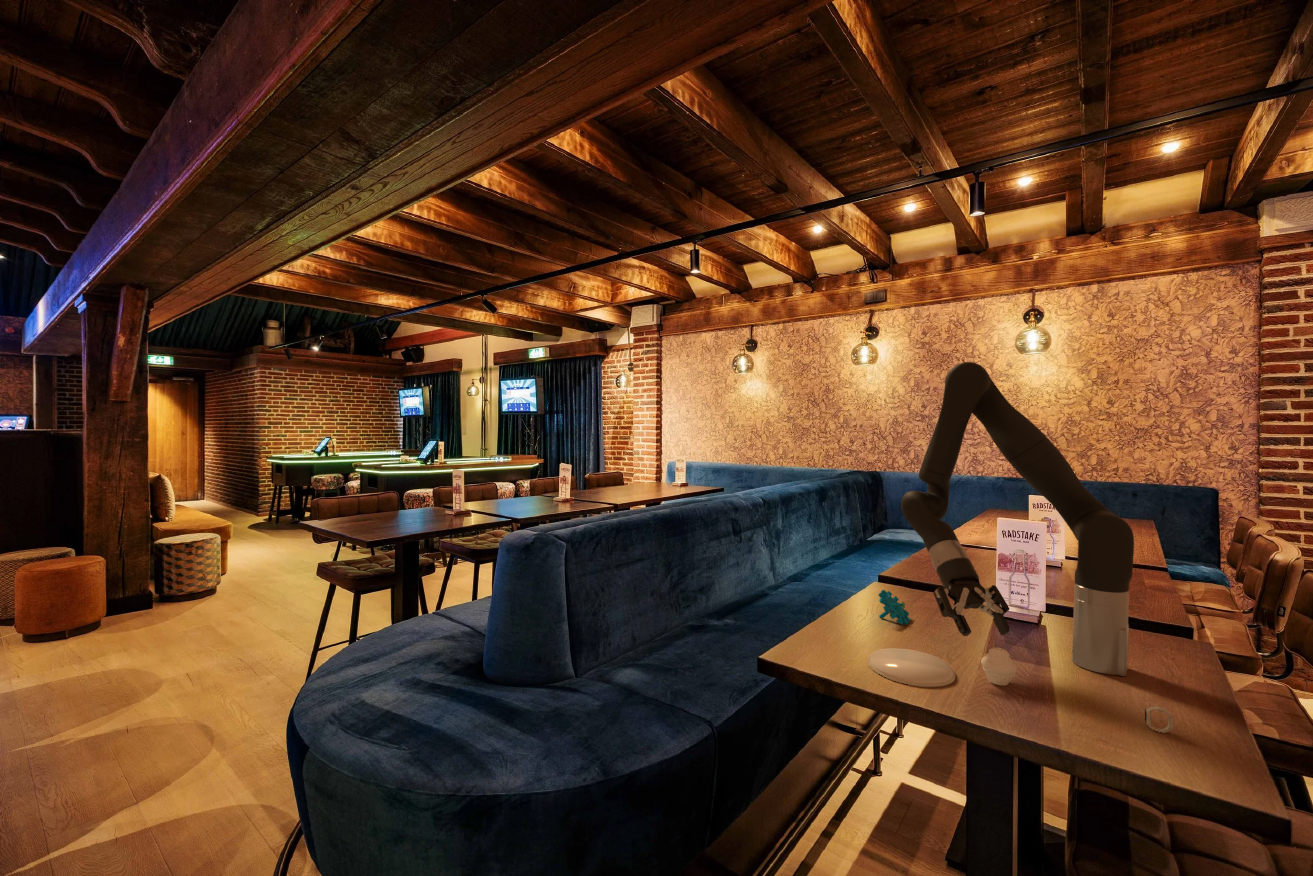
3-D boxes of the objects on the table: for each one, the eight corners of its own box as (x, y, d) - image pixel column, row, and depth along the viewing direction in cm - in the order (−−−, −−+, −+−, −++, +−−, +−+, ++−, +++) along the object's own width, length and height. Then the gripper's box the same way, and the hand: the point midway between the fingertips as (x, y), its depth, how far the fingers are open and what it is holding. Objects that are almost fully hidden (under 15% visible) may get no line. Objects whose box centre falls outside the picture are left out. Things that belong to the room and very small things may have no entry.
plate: (965, 668, 120) (965, 662, 120) (940, 695, 108) (941, 689, 108) (885, 646, 131) (885, 641, 131) (854, 669, 119) (854, 663, 119)
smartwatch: (1172, 732, 96) (1172, 708, 96) (1174, 737, 94) (1174, 713, 94) (1144, 725, 98) (1144, 702, 98) (1145, 730, 96) (1146, 707, 96)
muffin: (1008, 692, 109) (1009, 656, 109) (975, 680, 114) (975, 646, 114) (1021, 683, 113) (1022, 649, 113) (989, 672, 118) (990, 639, 118)
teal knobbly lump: (900, 624, 142) (876, 589, 148) (882, 636, 145) (859, 601, 151) (919, 620, 149) (896, 587, 155) (902, 632, 152) (880, 599, 158)
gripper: (930, 556, 124) (963, 627, 113) (990, 555, 126) (1028, 625, 115) (916, 574, 130) (946, 643, 119) (973, 573, 132) (1008, 641, 121)
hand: (986, 634), depth 117 cm, fingers open, 8 cm apart
